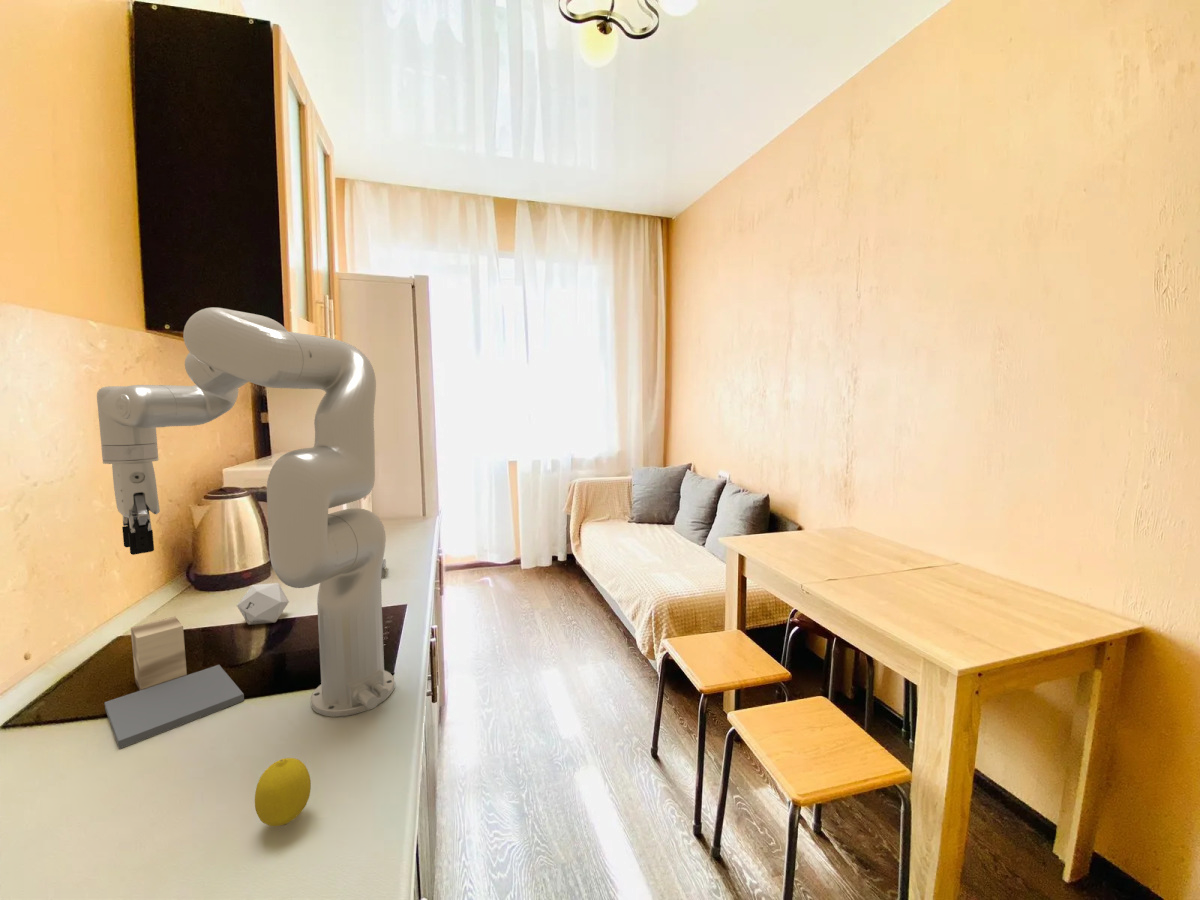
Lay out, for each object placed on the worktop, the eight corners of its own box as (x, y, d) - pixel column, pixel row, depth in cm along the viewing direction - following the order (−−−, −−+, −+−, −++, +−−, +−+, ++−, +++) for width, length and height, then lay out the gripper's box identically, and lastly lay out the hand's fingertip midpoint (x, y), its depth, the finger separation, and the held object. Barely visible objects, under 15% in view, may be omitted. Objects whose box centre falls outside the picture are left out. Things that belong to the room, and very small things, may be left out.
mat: (244, 700, 82) (243, 693, 82) (119, 748, 71) (118, 741, 71) (219, 670, 91) (219, 664, 91) (105, 709, 80) (104, 702, 80)
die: (238, 622, 113) (223, 598, 106) (273, 591, 119) (260, 567, 113) (266, 639, 111) (253, 616, 104) (300, 608, 118) (289, 584, 111)
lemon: (245, 835, 57) (240, 770, 56) (290, 799, 62) (287, 739, 61) (279, 850, 55) (275, 783, 54) (323, 812, 60) (320, 750, 60)
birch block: (187, 679, 88) (182, 625, 88) (141, 695, 84) (136, 638, 83) (179, 668, 92) (175, 616, 91) (135, 682, 88) (130, 627, 87)
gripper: (167, 455, 89) (175, 553, 91) (148, 449, 100) (155, 536, 102) (109, 459, 83) (118, 563, 85) (95, 452, 94) (104, 544, 96)
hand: (138, 548), depth 94 cm, fingers open, 6 cm apart
